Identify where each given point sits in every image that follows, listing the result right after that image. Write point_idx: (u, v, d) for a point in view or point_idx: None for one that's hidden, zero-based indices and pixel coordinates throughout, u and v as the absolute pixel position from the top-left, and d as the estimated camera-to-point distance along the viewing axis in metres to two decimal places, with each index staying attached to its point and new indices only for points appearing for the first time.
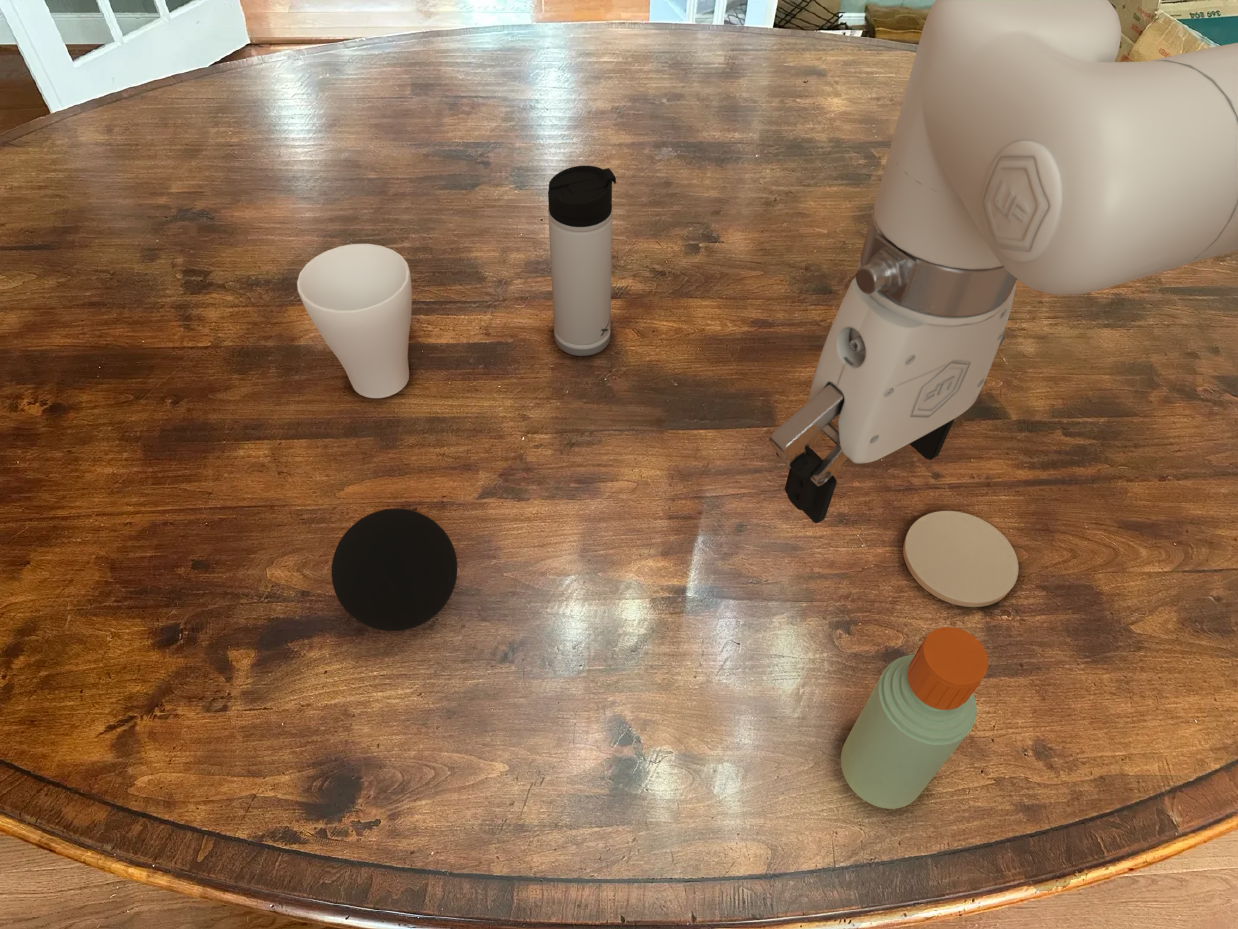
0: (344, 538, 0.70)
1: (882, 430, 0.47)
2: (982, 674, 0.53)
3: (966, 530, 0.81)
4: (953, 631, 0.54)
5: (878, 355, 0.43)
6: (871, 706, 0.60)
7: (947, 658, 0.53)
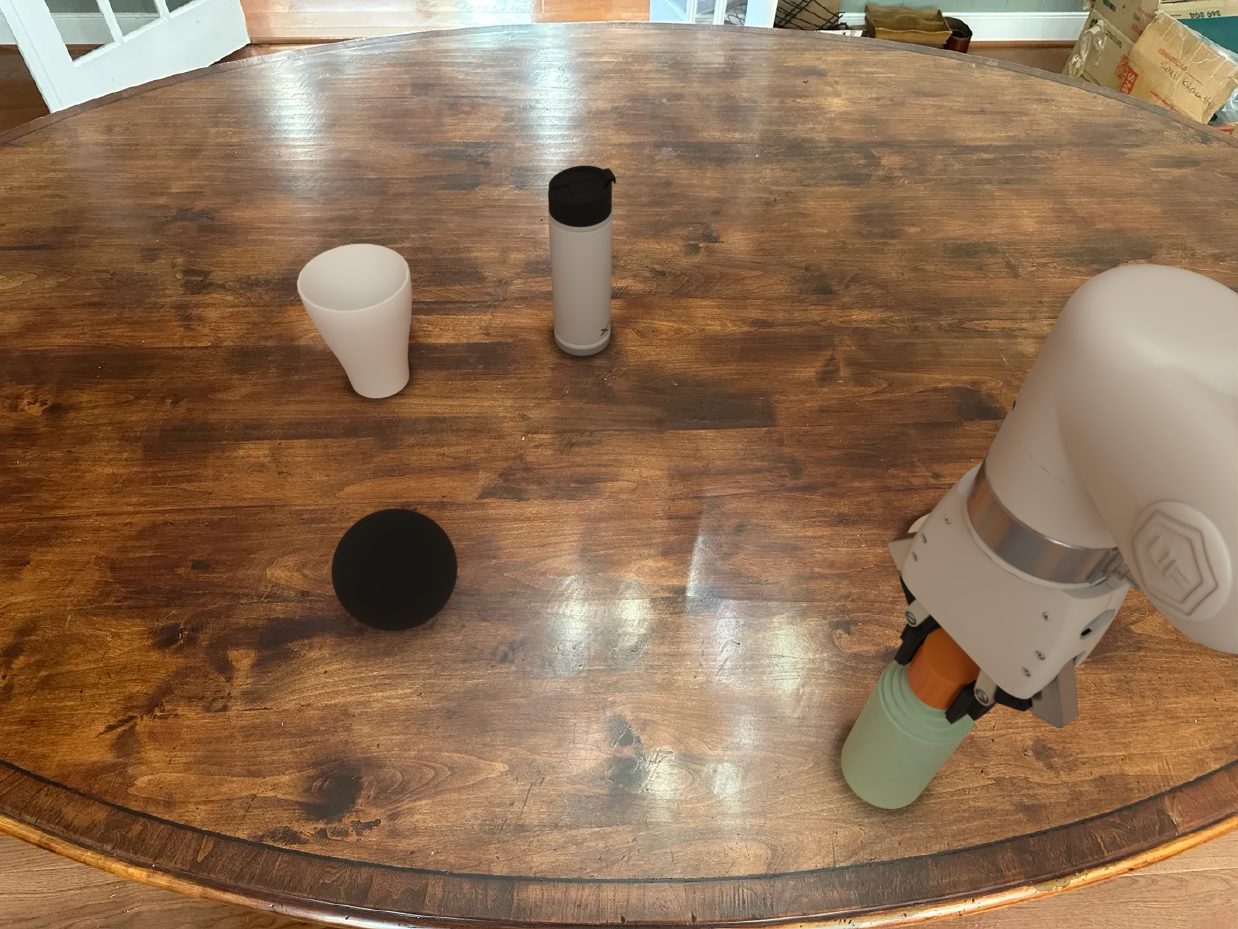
0: (344, 538, 0.70)
1: None
2: None
3: None
4: None
5: (1123, 600, 0.43)
6: (871, 706, 0.60)
7: (947, 658, 0.53)
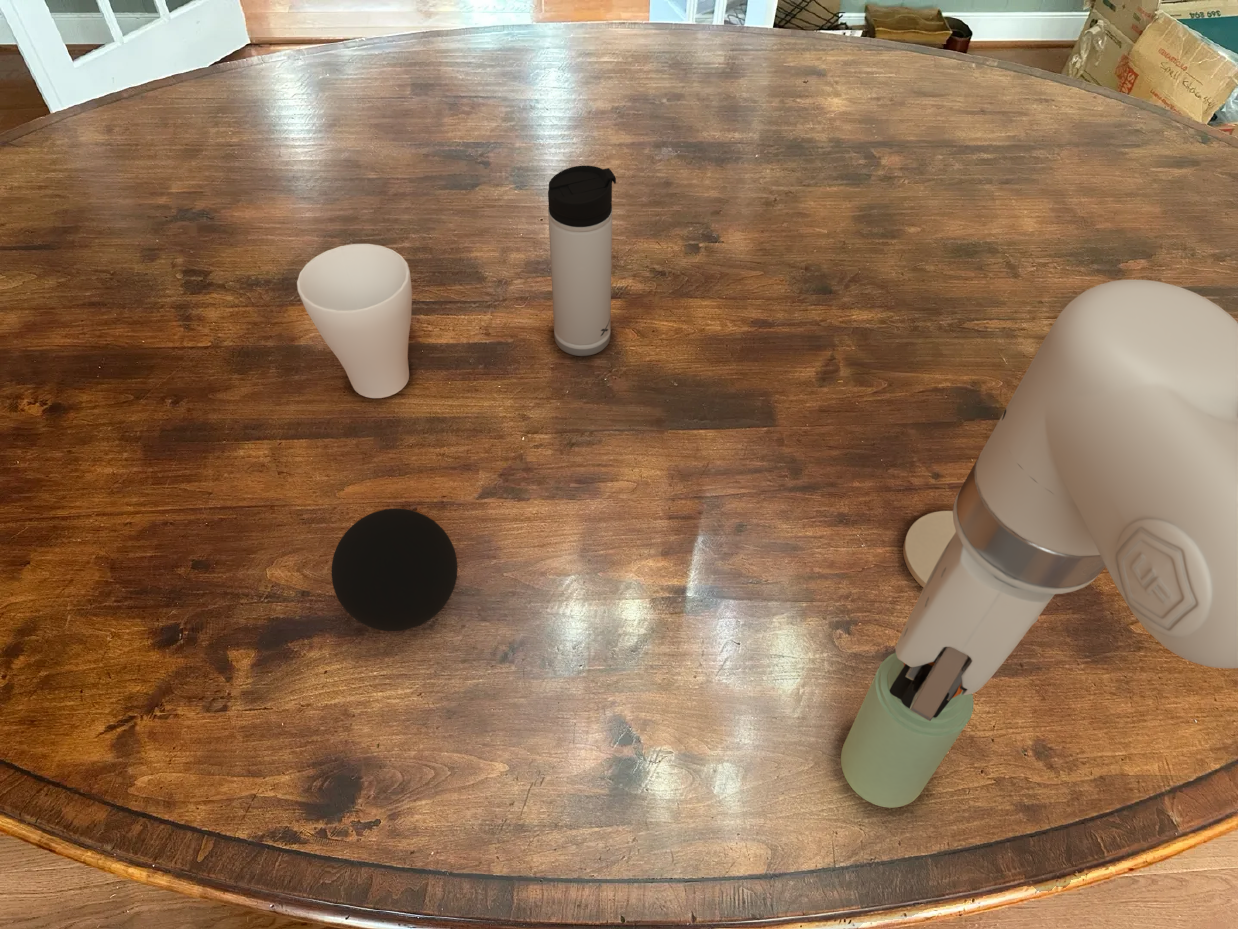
0: (344, 538, 0.70)
1: None
2: None
3: None
4: None
5: None
6: (868, 701, 0.60)
7: None
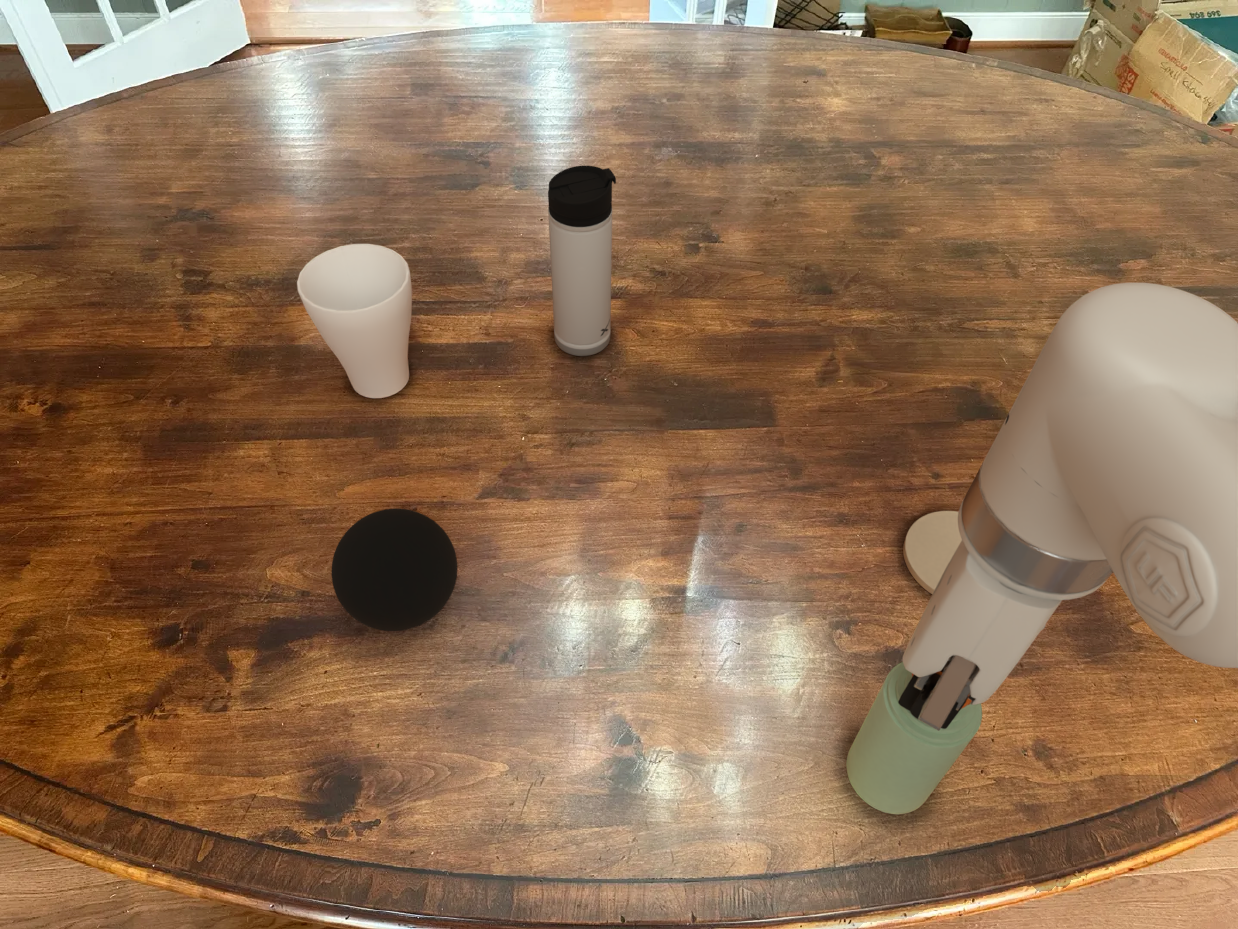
0: (344, 538, 0.70)
1: None
2: None
3: None
4: None
5: None
6: (876, 710, 0.60)
7: None
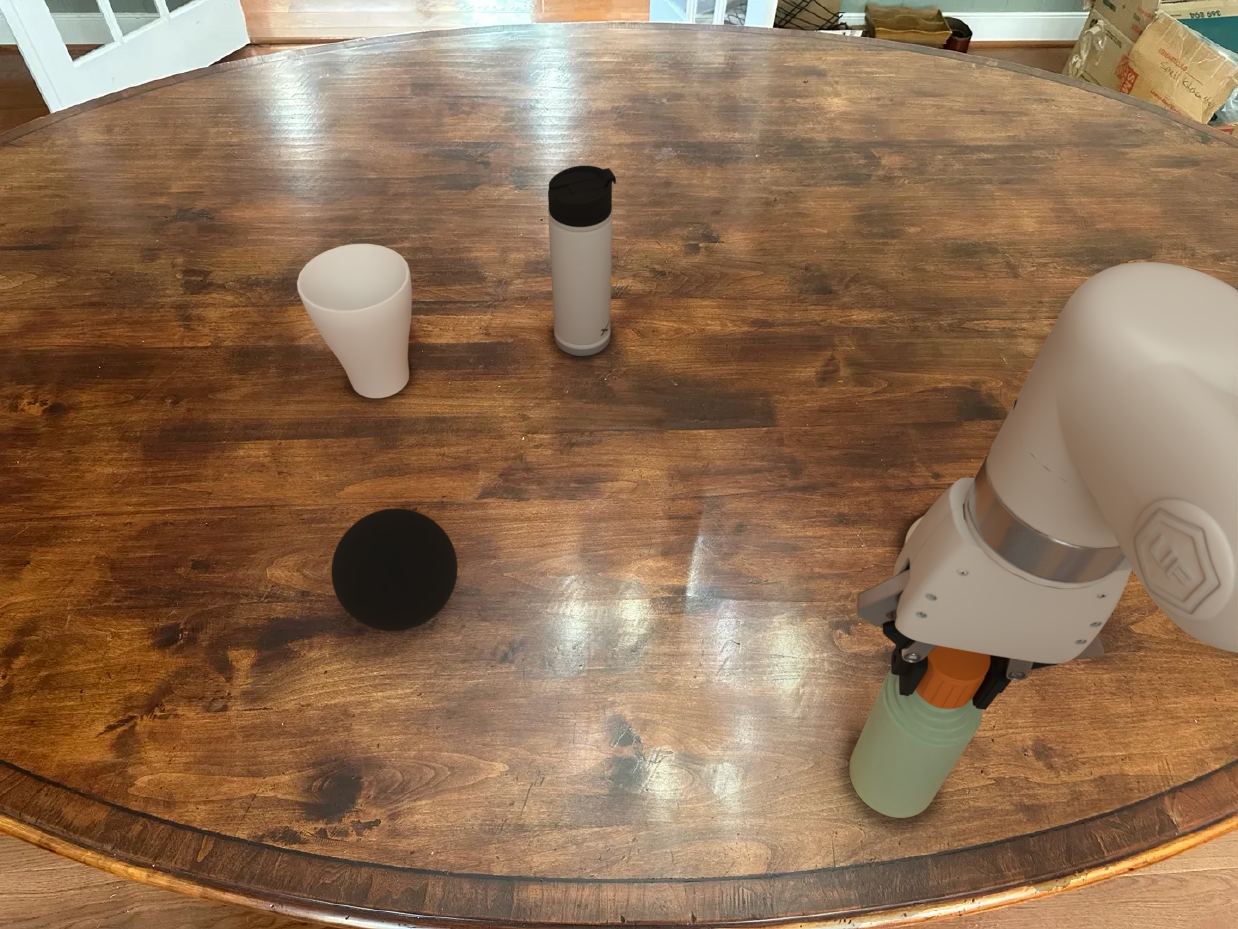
0: (344, 538, 0.70)
1: None
2: None
3: None
4: (953, 674, 0.52)
5: None
6: (876, 711, 0.59)
7: None
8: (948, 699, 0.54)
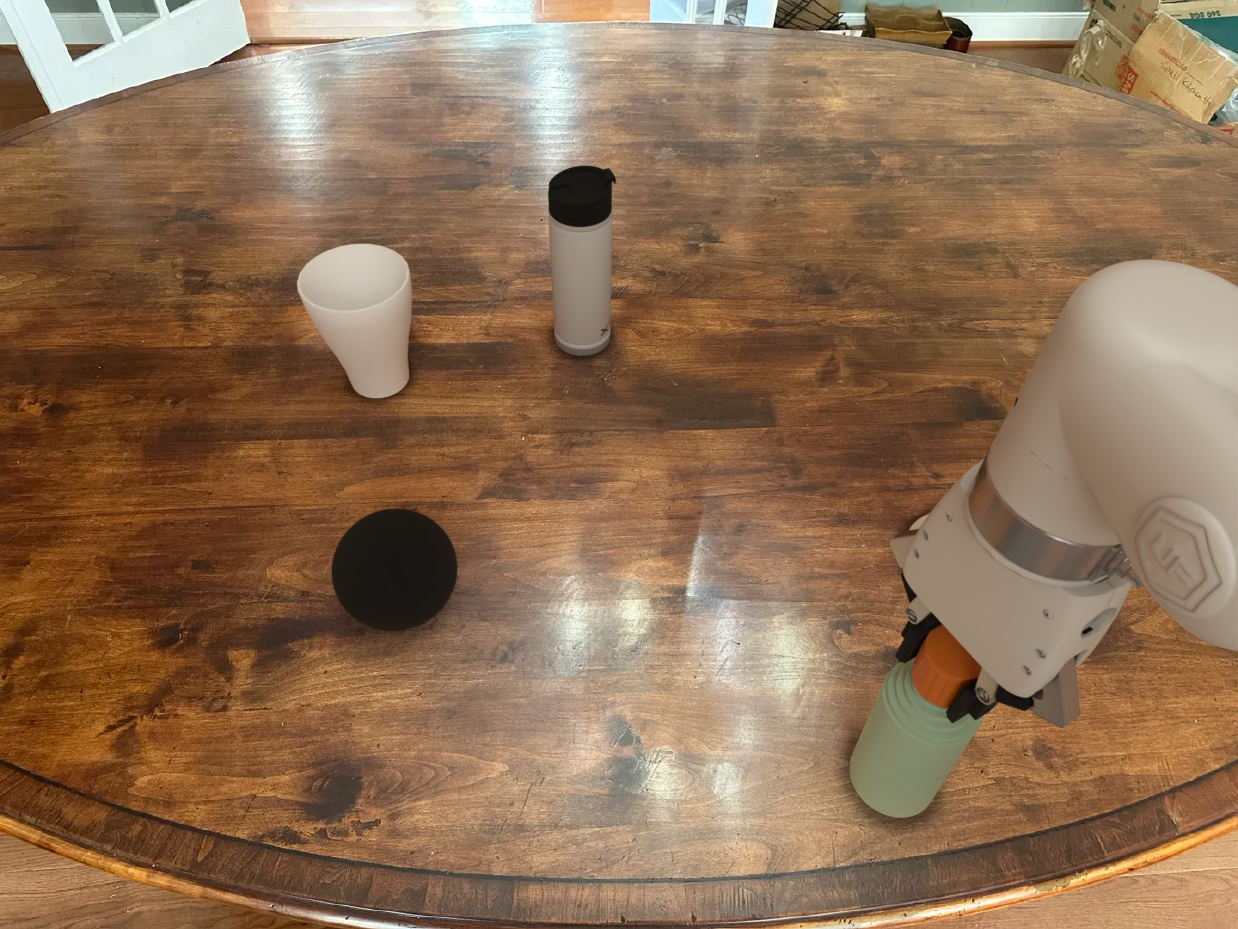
0: (344, 538, 0.70)
1: None
2: (929, 654, 0.53)
3: None
4: None
5: (1125, 599, 0.42)
6: (876, 710, 0.59)
7: (957, 641, 0.54)
8: None
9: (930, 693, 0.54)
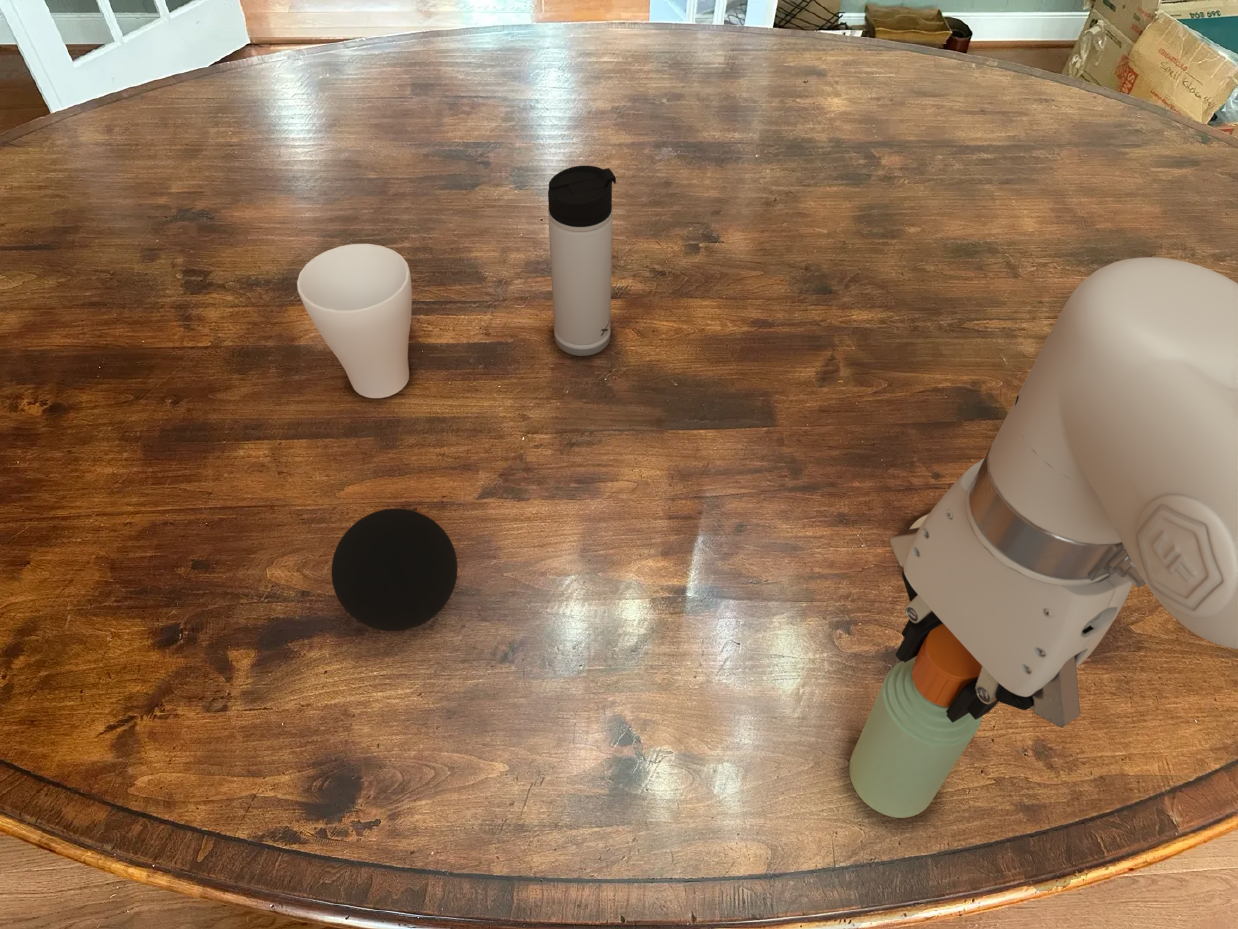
0: (344, 538, 0.70)
1: None
2: None
3: None
4: None
5: (1126, 598, 0.42)
6: (876, 710, 0.59)
7: (949, 652, 0.53)
8: None
9: None
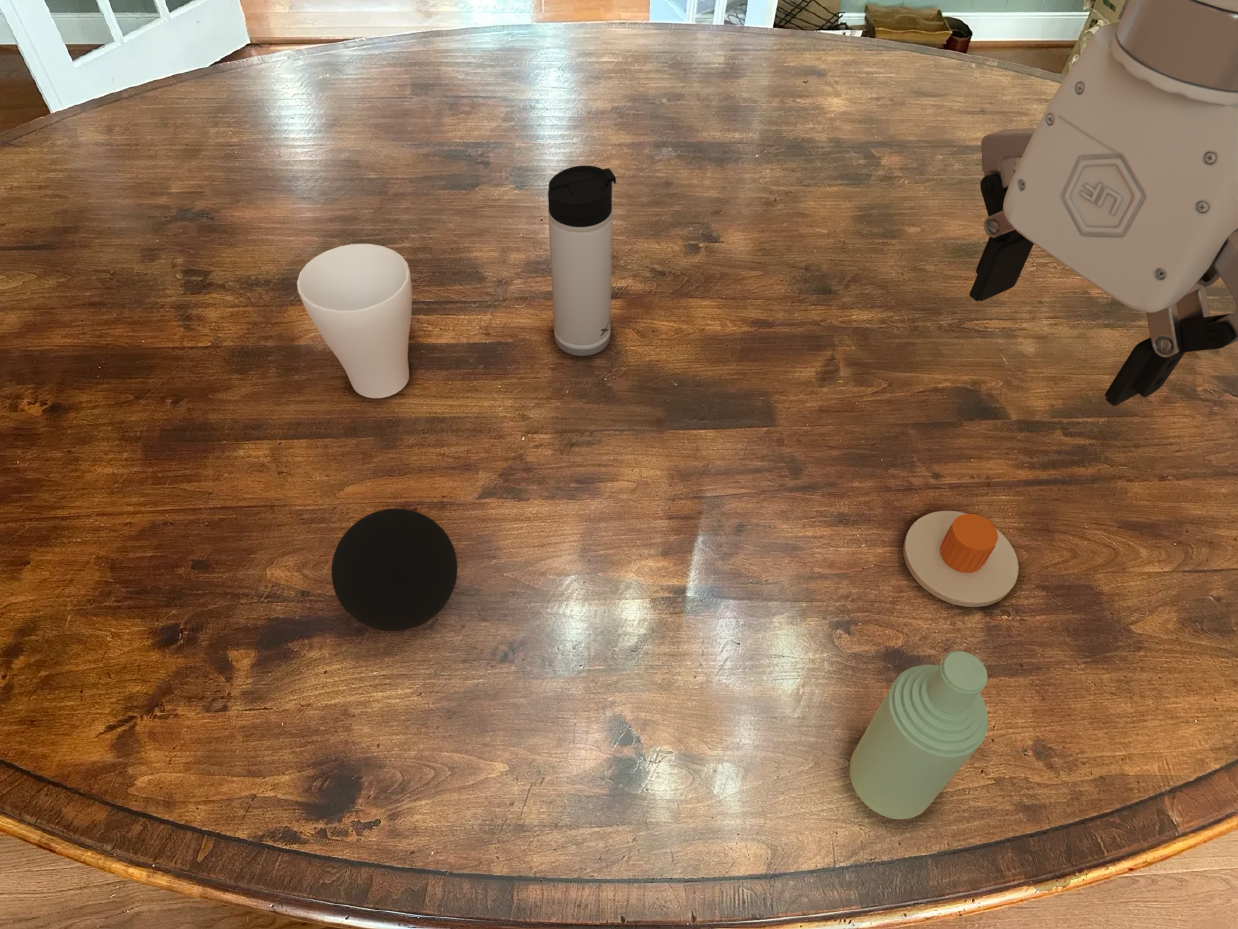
0: (344, 538, 0.70)
1: (1030, 180, 0.43)
2: (958, 518, 0.77)
3: None
4: (975, 546, 0.75)
5: (1071, 68, 0.41)
6: (881, 717, 0.59)
7: (981, 529, 0.76)
8: (970, 565, 0.77)
9: (943, 544, 0.79)
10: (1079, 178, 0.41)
